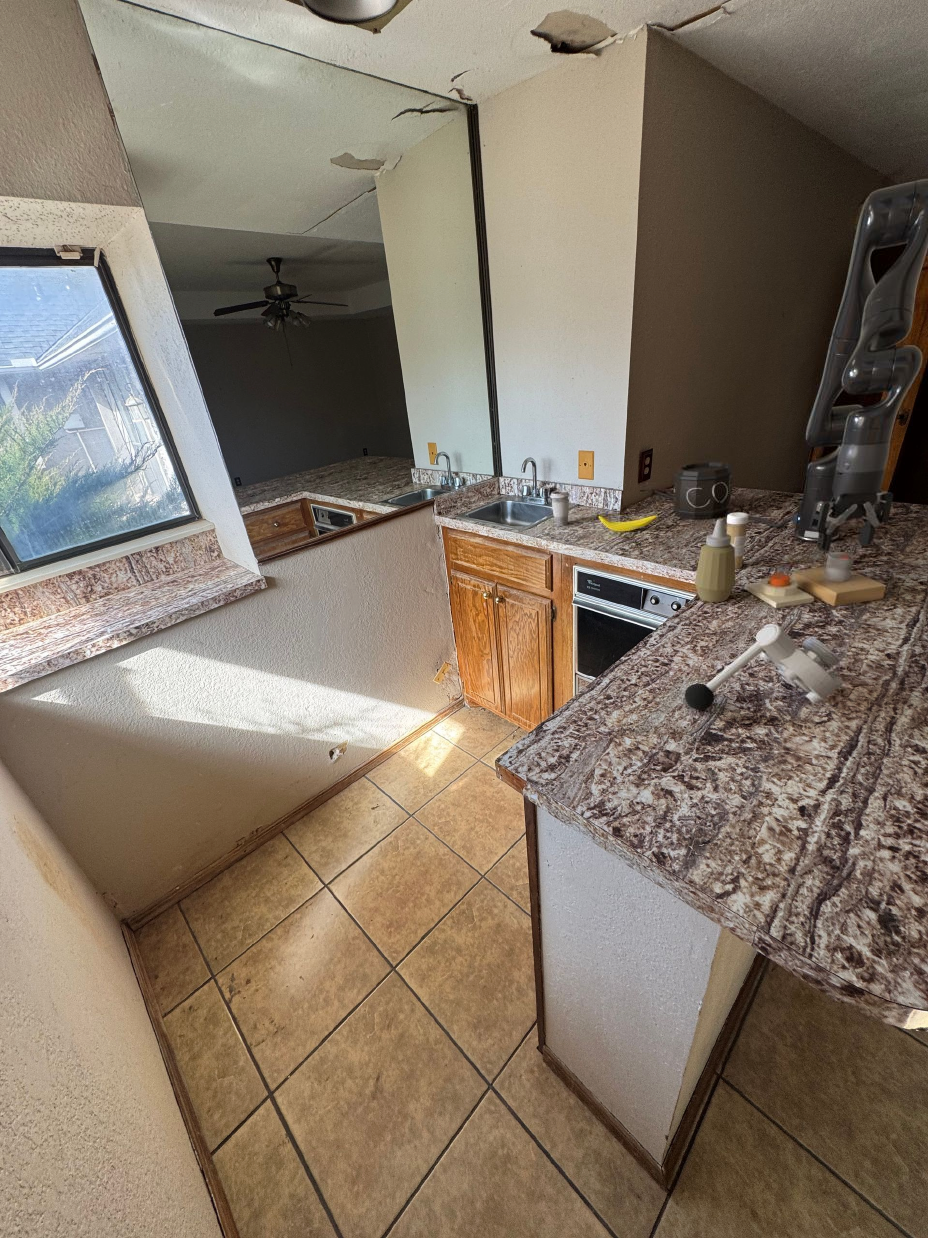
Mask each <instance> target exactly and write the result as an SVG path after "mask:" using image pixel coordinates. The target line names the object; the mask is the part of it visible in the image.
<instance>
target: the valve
mask: <svg viewBox="0 0 928 1238" xmlns="http://www.w3.org/2000/svg"><path fill="white" fill-rule="evenodd" d="M755 640H756V642H755V643H754V644H753V645H751V646H750V647H749V648H748V649H747V650H745V651H744V652H743V653H742V654H740V655H739V656H738V657H737V658H736V659H735V660H733V661H732V662H731V663H730V664H729V665H728V666H726V667H725V668H724V669H723V670H722V671H720V672H719V673H718V674H717V675H716V676H714V678H712V679H711V680H710V681H709V682H707V683H706V684H704V683H699V682H697V683H693V684H691V685H689V686H687V688H686V690H685V692H684V700H685V702H686V704H687V705H688V706H689V707H690V708H691V709H693V710H695V711H705V710H708V709H709V708H710V707H712V705H713V704H714V702H715V693H714V691H716V690H717V689H718V688H720V686H722V685H723V684H724V683H725V682H727V681H728V680H729V679H730V678H732V677H733V676H734V675H736V673H738V671H740V670H741V669H743V668H744V667H745V666H746V665H747V664H748V663H750V662H751V661H752V660H754V658H756V657H757V656H759V657H760V658H761V659H762V661H764V662H765V663H767V664H769V663H770V662H772V663H773V665H774V666H775V667H776V668H777V669H778V670H777V671H776V672H777V673H778V674H779V675H780V678H781V679H782V680H783V681H784V682H786V684H788V685H792V687H794V688H797V687H799V688H800V689H802V690H804V691H805V692H807V694H806V695H805V697H806V699H808V700H809V701H810V702H811V703H812V704H813V705H817V704H818V703H819V702H821V701H823V700H824V699H826V698H827V697H829V696H830V695H831V694H833V693H834V692H835V691H837V689H839V688H840V687H841V686H843V685H844V682H843V680H842V679H841V677H838V676H837V675H835V674H833V673H831V674H829V673H828V672H827V670H826V669H824V667H826V668H827V669H830V670H831V668H834V666H836V665H837V664H838V663H840V662H841V660H840V657H838V655H837V654H835V652H834V651H832V650H831V648H829V647H828V646H826V645H825V644H824V643H823V642H822V641H820V640H818V639H817V638H815V637H813V636H811V635H810V636H808V637H807V638H805V639H804V640H803V641H802V642H800V645H801V647H802V648H803V649H801V648H800V647H799V645H798V644H797V642H796V641H794V639H793V638H792V637H791V636H790V635H789V634H788V633H787V632H786V631H785V630H784V629H783V628H782V627H781V626H780V625H779V624H776V623H768V624H765V625H763V627H762V628H761V629H760V630H759V631H758V632H757V633H756V636H755ZM823 666H824V667H823Z"/></svg>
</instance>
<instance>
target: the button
mask: <svg viewBox="0 0 928 1238" xmlns="http://www.w3.org/2000/svg"><path fill="white" fill-rule="evenodd" d="M769 578H770V582H769V584H770V585H772V586H777V587H785V586H789V582H790V579H791V576H790V575H789V574H785V573H773V574H771V575H770V577H769Z"/></svg>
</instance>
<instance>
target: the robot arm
mask: <svg viewBox="0 0 928 1238" xmlns="http://www.w3.org/2000/svg"><path fill="white" fill-rule="evenodd" d="M902 245H906V246H905V249H904V250H903V252H902V253H901V255H900V256H899V257H898V259H897V260H896V261H895V262H894V263H893V265H892V266H891V267H890V268H889V269H888V270H887V271H886V272H885V273H884V275H883V276H881V278H880V279H879V280H878V281H877V283H876V282H875V278H874V275H873V272H872V267H871V257H872V252H874V250H881V249H886V248H891V247H892V248H893V247H898V246H902ZM927 253H928V178H923V179H918V180H913V181H909V182H905V183H900V184H895V185H892V186H891V185H890V186H887V187H882V188H879V189H876V190H874V191H872V192H870V193H869V195H868V196H867V197H866V198H865V200H864V202H863V204H862V208H861V211H860V213H859V217H858V221H857V225H856V229H855V235H854V238H853V244H852V249H851V255H850V261H849V265H848V270H847V275H846V280H845V285H844V290H843V293H842V297H841V301H840V305H839V309H838V312H837V314H836V315H837V316H836V319H835V322H834V325H833V329H832V333H831V337H830V341H829V344H828V349H827V354H826V359H825V364H824V367H823V372H822V377H821V381H820V384H819V387H818V391H817V394H816V397H815V400H814V403H813V406H812V409H811V412H810V415H809V418H808V422H807V425H806V430H805V442H806V445H807V446H809V447H811V448H822V447H824V448H825V447H836V446H837V448H836V449H834V451H832V452H830V453H829V454H827V455H825V456H823V457H820V458H817V459H814V460H812V461H810V462H809V463H808V465H807V469H806V475H805V482H804V486H803V487H804V488H803V494H802V500H800V501H799V504H798V510H797V513H794V514H793V516H792V517H789V518H785V519H784V520H782V521H781V522H780V523H774V522H770V521H768V520H766V519H763V518H759V517H756V516H755V517H754V516H750V515H749V518H748V520H751V521H754V522H755V521H757V522H759V523H763V524H766V525H768V526H770V527H773V528H781V527H783V526H784V525H785V524H787V523H788V522H791V521H792V525H793V526H795V528H794V535H795V537H796V539H798V540H800V541H803V542H809V543H816V548H818V551H821V552H824V553H826V552H829V551H830V550H831V549H830V548H831V543H832V542H834V541H837V540H838V539H839V535H840V529H841V525H842V524H843V523H844V522H845V521H851V520H853V519H855V520H858V519H860V520H861V522H862V523H863V524H862V525H861V528H860V534H859V538H858V543H859V544H860V545H864V546H869V545H871V544H872V542H873V540H874V539H875V533H876V530H877V527H878V526H879V525H880V524H882V523H888V521H889V520H890V514H891V509H892V504H893V499H894V493H893V492H889V491H884V490H881V489H882V485H883V481H884V477H885V472H886V468H887V464H888V460H889V456H890V455H889V454H890V444H891V438H892V434H893V429H894V425H895V422H896V418H897V415H898V412H899V410H900V408H901V405H902V403H903V401H904V399H905V397H906V395H907V393H908V392H909V389H910V388H911V386H912V384H913V382H914V381H915V380H916V379H917V378H916V377H917V376H918V374H919V372H920V370H921V368H922V364H923V353H922V351H921V349H920V348H919V347H917V346H916V345H911V344H909V345H908V344H907V345H900V346H895V345H897V344H899V343H901V342H902V341H904V339H906V338H907V337H908V335H909V334H910V332H911V331H912V330H911V329H912V327H913V319H914V310H915V303H916V302H915V301H916V294H917V289H918V284H919V279H920V275H921V272H922V269H923V265H924V263H925V259H926V255H927ZM894 346H895V347H894ZM843 391H845V393H847V394H848V395H852V396H856V395H864V394H865V395H866V394H875V393H885V392H886V394H885V396H884V397H883V398H882V399H881V400H880V401H879V402H876V403H874V404H871V405H868V406H862V405H860V404H847V405H837V406H836V405H835V406H833V405H834V404H835V402H836V400H837V398H838V397H839V396H840V394H841V393H842V392H843ZM657 491H658V490H656V491H655V492H654V493H655V494H658V495H661V496H663V497H665V498H669V499H671V500H674V496H673V495H669V494H666V493H665V492H664V493H663V492H661V491H659V492H657ZM731 513H732V512H729V511H727V512H725V513H724V516H725V515H726V516H728V514H731Z"/></svg>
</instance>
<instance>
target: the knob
mask: <svg viewBox="0 0 928 1238" xmlns="http://www.w3.org/2000/svg"><path fill="white" fill-rule="evenodd" d="M855 556H856V555H854V554H853V553H850V552H844V551H835V552H830V553H828V555H827V559H826V564H825V566H826V569H825V574H824V578H825V579H827V580H830V581H835V582H844V581H848V580H849V579H850V576H851V571H853V566H854V562H855Z"/></svg>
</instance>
